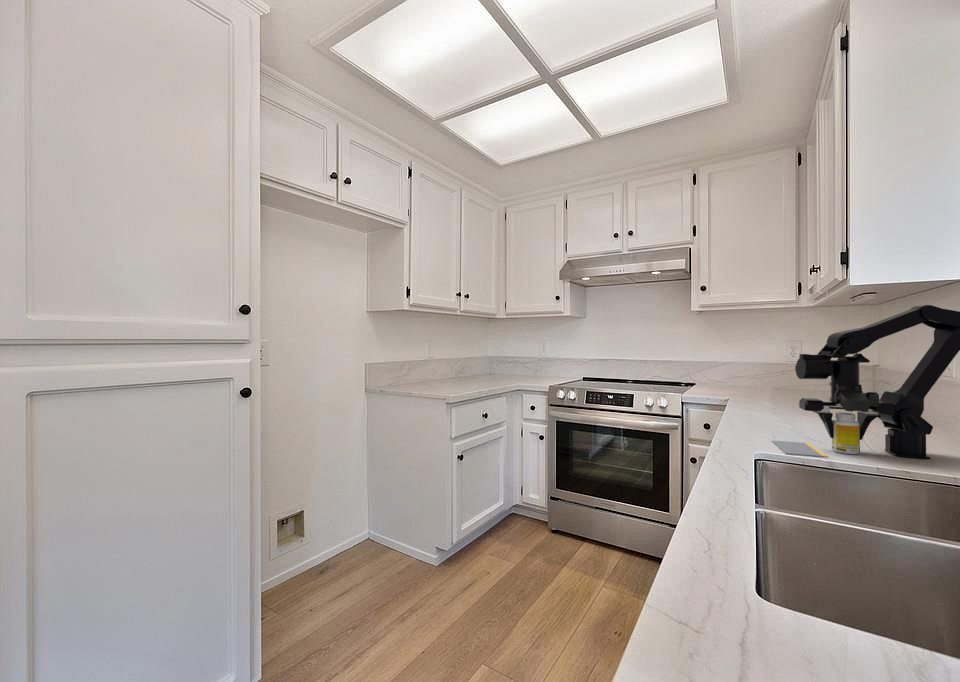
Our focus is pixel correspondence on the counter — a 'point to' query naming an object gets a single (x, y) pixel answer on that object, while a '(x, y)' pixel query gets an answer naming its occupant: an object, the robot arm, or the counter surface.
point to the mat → (799, 449)
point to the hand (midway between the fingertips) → (845, 438)
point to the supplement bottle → (846, 433)
